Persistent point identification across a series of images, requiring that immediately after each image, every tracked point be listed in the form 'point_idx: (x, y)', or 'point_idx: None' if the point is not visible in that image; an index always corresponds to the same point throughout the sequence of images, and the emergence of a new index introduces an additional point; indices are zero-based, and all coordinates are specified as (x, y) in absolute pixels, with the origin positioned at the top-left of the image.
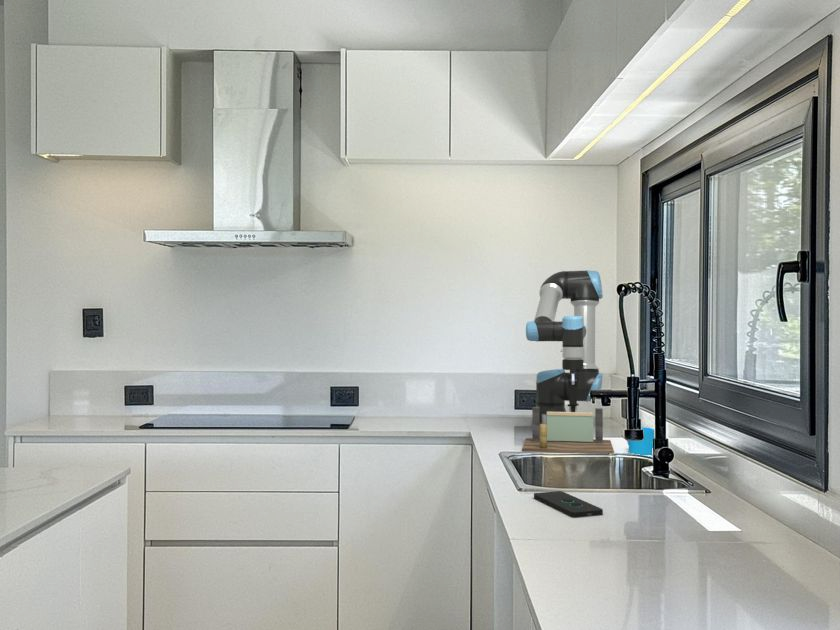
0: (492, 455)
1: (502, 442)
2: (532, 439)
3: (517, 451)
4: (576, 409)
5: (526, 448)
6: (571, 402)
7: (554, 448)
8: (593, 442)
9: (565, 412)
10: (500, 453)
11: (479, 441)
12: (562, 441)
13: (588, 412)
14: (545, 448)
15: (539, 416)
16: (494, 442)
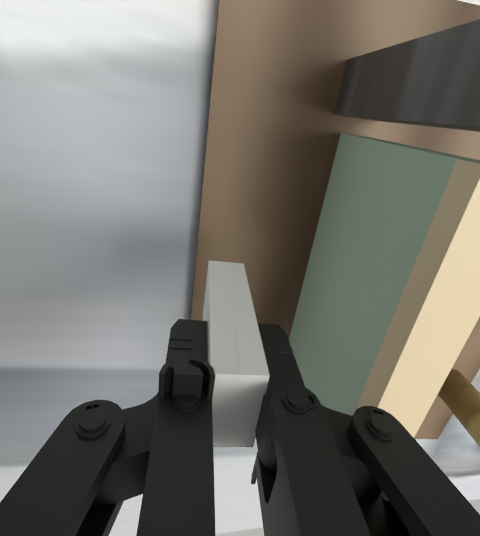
0: (473, 486)
1: (237, 483)
2: None
3: (426, 439)
4: (262, 351)
5: (443, 428)
6: (381, 491)
7: (473, 344)
8: (339, 129)
9: None
10: (448, 474)
11: (220, 532)
12: (291, 303)
13: (462, 226)
14: (462, 374)
15: None
16: (238, 501)
